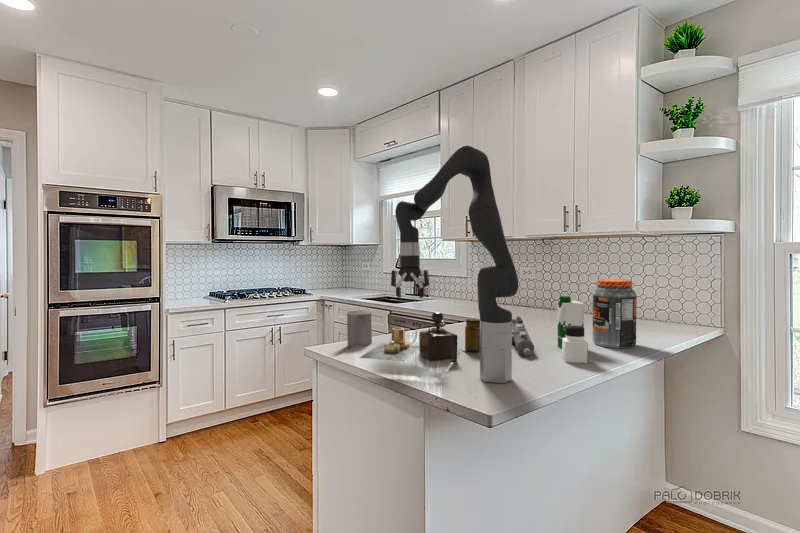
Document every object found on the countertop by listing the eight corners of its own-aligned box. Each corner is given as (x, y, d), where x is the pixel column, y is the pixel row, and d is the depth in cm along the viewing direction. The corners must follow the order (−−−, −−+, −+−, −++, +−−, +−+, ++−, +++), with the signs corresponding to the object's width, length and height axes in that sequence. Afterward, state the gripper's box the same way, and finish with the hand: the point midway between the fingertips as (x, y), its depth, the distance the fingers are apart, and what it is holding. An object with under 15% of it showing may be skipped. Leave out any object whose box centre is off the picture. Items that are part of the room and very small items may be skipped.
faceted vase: (405, 349, 161) (405, 331, 161) (384, 348, 164) (384, 330, 163) (411, 345, 169) (411, 327, 169) (391, 344, 171) (391, 326, 171)
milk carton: (554, 346, 172) (555, 295, 171) (577, 346, 171) (578, 295, 171) (562, 351, 163) (563, 298, 162) (587, 351, 163) (587, 297, 162)
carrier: (403, 364, 145) (403, 343, 145) (359, 361, 150) (358, 340, 150) (421, 348, 168) (421, 330, 168) (382, 346, 173) (382, 328, 173)
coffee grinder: (416, 357, 154) (416, 307, 154) (445, 355, 158) (445, 305, 157) (434, 368, 140) (433, 313, 139) (465, 365, 143) (465, 311, 143)
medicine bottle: (588, 363, 145) (588, 327, 144) (565, 362, 146) (565, 327, 146) (583, 358, 152) (583, 324, 151) (561, 357, 153) (562, 323, 153)
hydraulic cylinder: (521, 332, 188) (521, 310, 186) (537, 368, 152) (538, 342, 150) (504, 332, 189) (504, 310, 187) (515, 368, 153) (516, 341, 151)
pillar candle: (353, 343, 180) (352, 307, 179) (375, 344, 177) (374, 307, 177) (343, 348, 171) (342, 310, 170) (367, 349, 168) (366, 311, 167)
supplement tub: (586, 340, 182) (587, 278, 181) (626, 340, 180) (626, 278, 180) (600, 348, 166) (600, 281, 165) (643, 349, 165) (644, 281, 164)
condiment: (478, 348, 168) (478, 317, 168) (487, 353, 160) (487, 321, 159) (460, 349, 167) (460, 318, 166) (468, 354, 158) (468, 322, 158)
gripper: (388, 255, 162) (389, 298, 162) (425, 254, 158) (426, 298, 158) (394, 255, 169) (394, 296, 169) (430, 254, 165) (430, 297, 165)
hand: (410, 297), depth 164 cm, fingers open, 8 cm apart
